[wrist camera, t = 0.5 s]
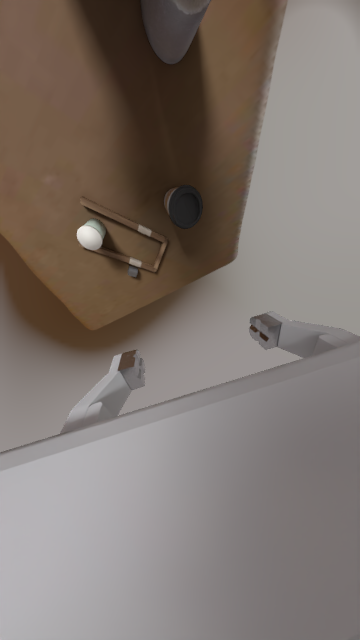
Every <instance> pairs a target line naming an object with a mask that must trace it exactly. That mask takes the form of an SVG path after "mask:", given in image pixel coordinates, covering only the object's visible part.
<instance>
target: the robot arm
mask: <svg viewBox="0 0 360 640" xmlns="http://www.w3.org/2000/svg"><path fill="white" fill-rule="evenodd" d="M250 323H251V326H250V329H249V332H250V335H251V336H252V338H253V339H254V340H256V341H259V344H260V345H261V346H262V347H263V348H264V349H266V350H267V349H270V348H274V347H279V348H281V349H283V350H286V351H288V352H291V353H293V354H296V355H298V356H300V357H303V359H300V360H297V361H294V362H290V363H287V364H284V365H281V366H277V367H274V368H271V369H268V370H264V371H261V372H258V373H255V374H252V375H248V376H245V377H242V378H239V379H236V380H233V381H229V382H226V383H223V384H219V385H216V386H213V387H210V388H206V389H203V390H200V391H197V392H193V393H190V394H187V395H184V396H181V397H178V398H174V399H171V400H168V401H164V402H161V403H158V404H155V405H152V406H148V407H145V408H142V409H139V410H135V411H132V412H129V413H126V414H123V415H119V416H117V415H118V414H119V412H120V410H121V408H122V407H123V405H124V403H125V401H126V400H127V398H128V396H129V395H130V393H131V390H134V389H137V388H140V387H143V386H145V377H144V375H143V374H144V373H145V365H144V361H143V359H142V358H140V353H139V351H138V350H133V351H129V352H125V353H122V354H118V355H115V356H114V358H113V361H112V364H111V367H110V370H109V373H108V374H107V375H105V376H104V377H103V378H102V379H101V380H100V381H99V382H98V383H97V384H96V385H95V386H94V387H93V388H92V389H91V390H90V391H89V392H88V394H87V395H86V396H85V397H84V398H83V399H82V400H81V401H80V402H79V403H78V404H77V405H76V406H75V407H74V408H73V409H72V410H71V412H70V414H69V416H68V418H67V420H66V422H65V425H64V427H63V429H62V431H61V433H60V434H58V435H55V436H52V437H48V438H45V439H42V440H39V441H35V442H32V443H29V444H26V445H23V446H20V447H16V448H13V449H10V450H6V451H3V452H0V640H360V336H357V335H355V334H353V333H350V332H348V331H346V330H344V329H341V328H334V327H329V326H323V325H317V324H311V323H305V322H299V321H290V320H288V319H286V318H284V317H282V316H280V315H279V314H277V313H275V312H267V313H264V314H262V315H258V316H254V317H251V318H250Z"/></svg>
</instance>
